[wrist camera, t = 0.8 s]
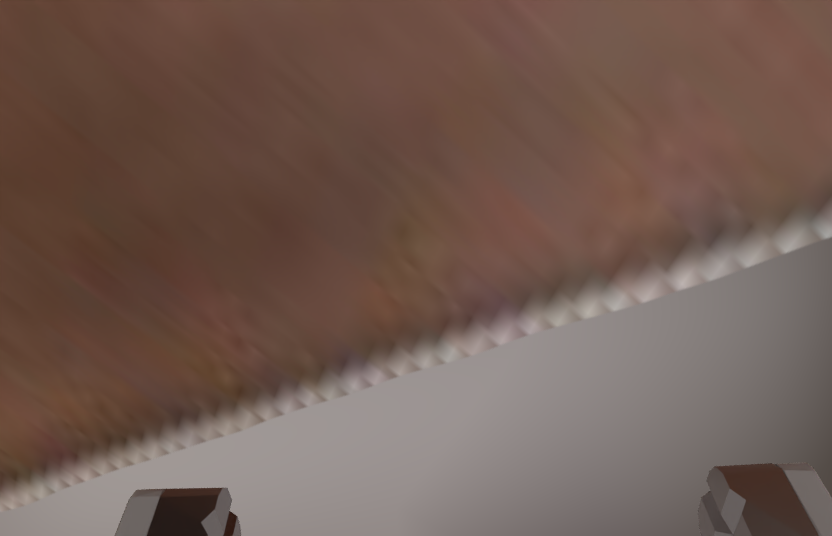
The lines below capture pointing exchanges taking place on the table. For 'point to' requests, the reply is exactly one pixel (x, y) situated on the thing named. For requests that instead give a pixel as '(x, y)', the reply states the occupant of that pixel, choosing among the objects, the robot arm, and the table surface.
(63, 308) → the table surface
